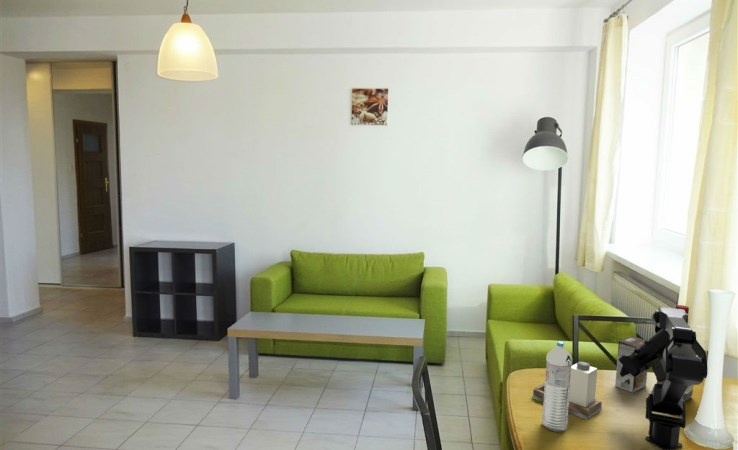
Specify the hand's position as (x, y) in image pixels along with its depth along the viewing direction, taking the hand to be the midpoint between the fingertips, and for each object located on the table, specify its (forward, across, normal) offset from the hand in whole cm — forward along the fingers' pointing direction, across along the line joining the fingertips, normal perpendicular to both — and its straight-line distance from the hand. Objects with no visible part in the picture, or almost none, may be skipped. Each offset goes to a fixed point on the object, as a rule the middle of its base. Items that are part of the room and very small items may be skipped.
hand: (621, 375), depth 154 cm
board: (+18, -6, +3) cm, 19 cm away
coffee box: (+12, +24, -3) cm, 27 cm away
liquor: (+5, +28, -12) cm, 31 cm away
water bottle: (+15, -22, -1) cm, 27 cm away
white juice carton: (+14, -6, 0) cm, 15 cm away
